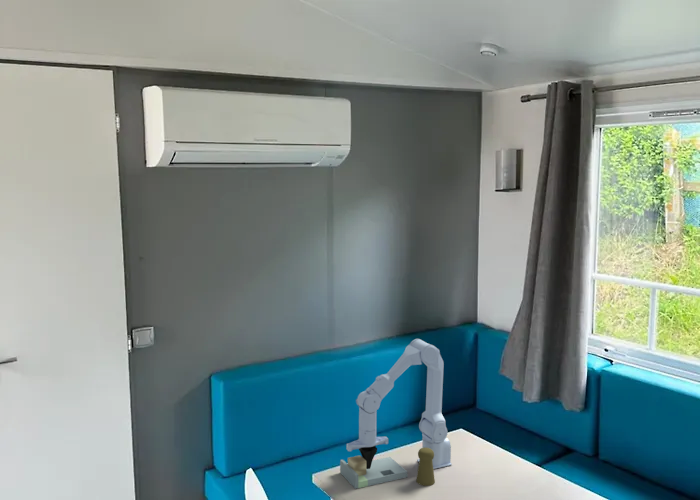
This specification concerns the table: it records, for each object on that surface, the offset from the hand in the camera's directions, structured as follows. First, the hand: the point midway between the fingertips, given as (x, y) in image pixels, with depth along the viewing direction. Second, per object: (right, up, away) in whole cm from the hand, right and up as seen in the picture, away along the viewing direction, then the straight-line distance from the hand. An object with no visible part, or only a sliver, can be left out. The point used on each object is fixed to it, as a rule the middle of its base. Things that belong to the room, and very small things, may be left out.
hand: (367, 467), depth 205 cm
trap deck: (+3, -3, +2) cm, 4 cm away
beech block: (-3, -1, -1) cm, 4 cm away
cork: (+19, -4, -3) cm, 20 cm away
